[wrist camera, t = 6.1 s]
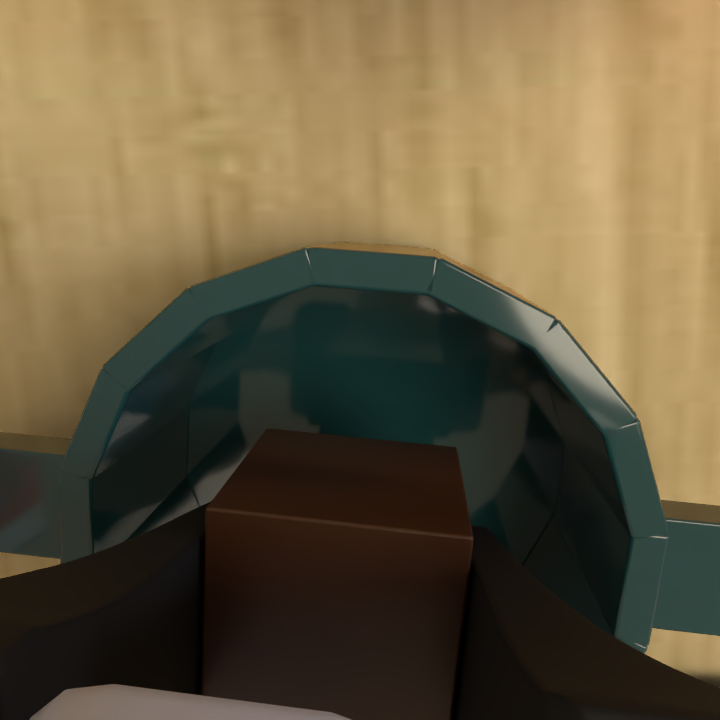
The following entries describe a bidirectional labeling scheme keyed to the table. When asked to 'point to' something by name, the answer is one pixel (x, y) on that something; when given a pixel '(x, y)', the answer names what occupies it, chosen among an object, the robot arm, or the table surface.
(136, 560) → the robot arm
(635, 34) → the table surface
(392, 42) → the table surface
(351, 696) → the block
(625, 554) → the pot
